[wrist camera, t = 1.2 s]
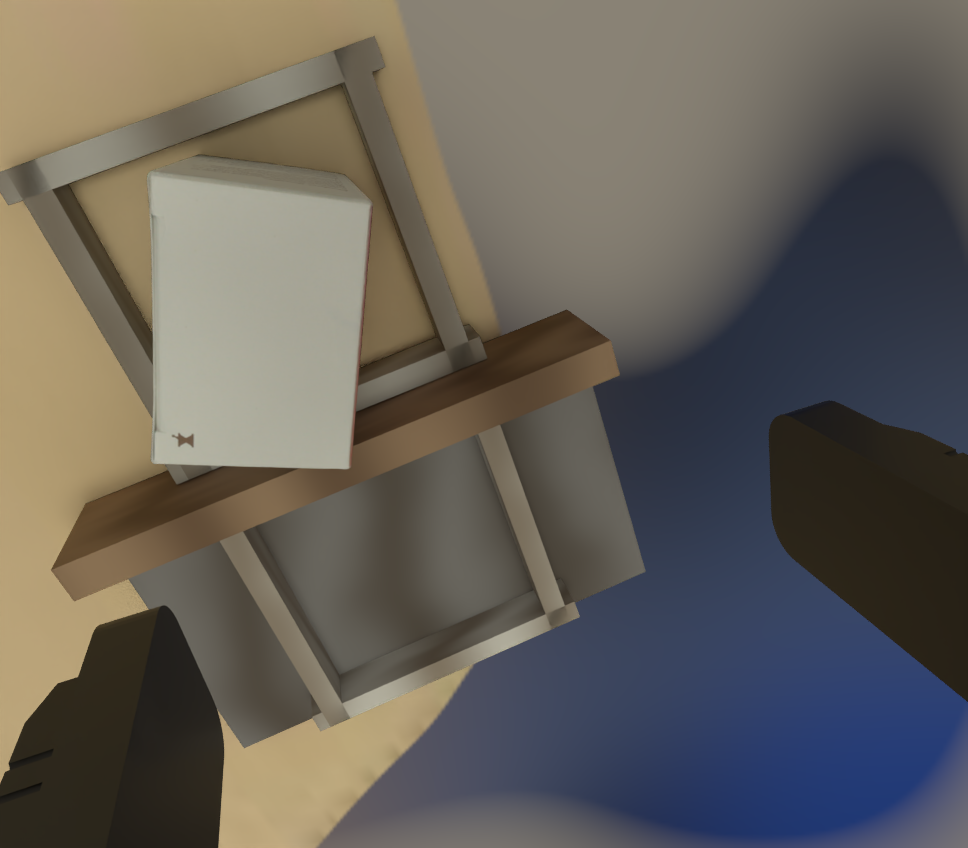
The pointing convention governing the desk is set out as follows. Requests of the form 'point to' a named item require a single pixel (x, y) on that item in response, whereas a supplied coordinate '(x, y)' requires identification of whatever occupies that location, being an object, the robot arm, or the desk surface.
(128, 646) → the robot arm
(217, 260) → the small box
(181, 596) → the door edge frame
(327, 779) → the desk surface
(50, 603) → the desk surface
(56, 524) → the desk surface
